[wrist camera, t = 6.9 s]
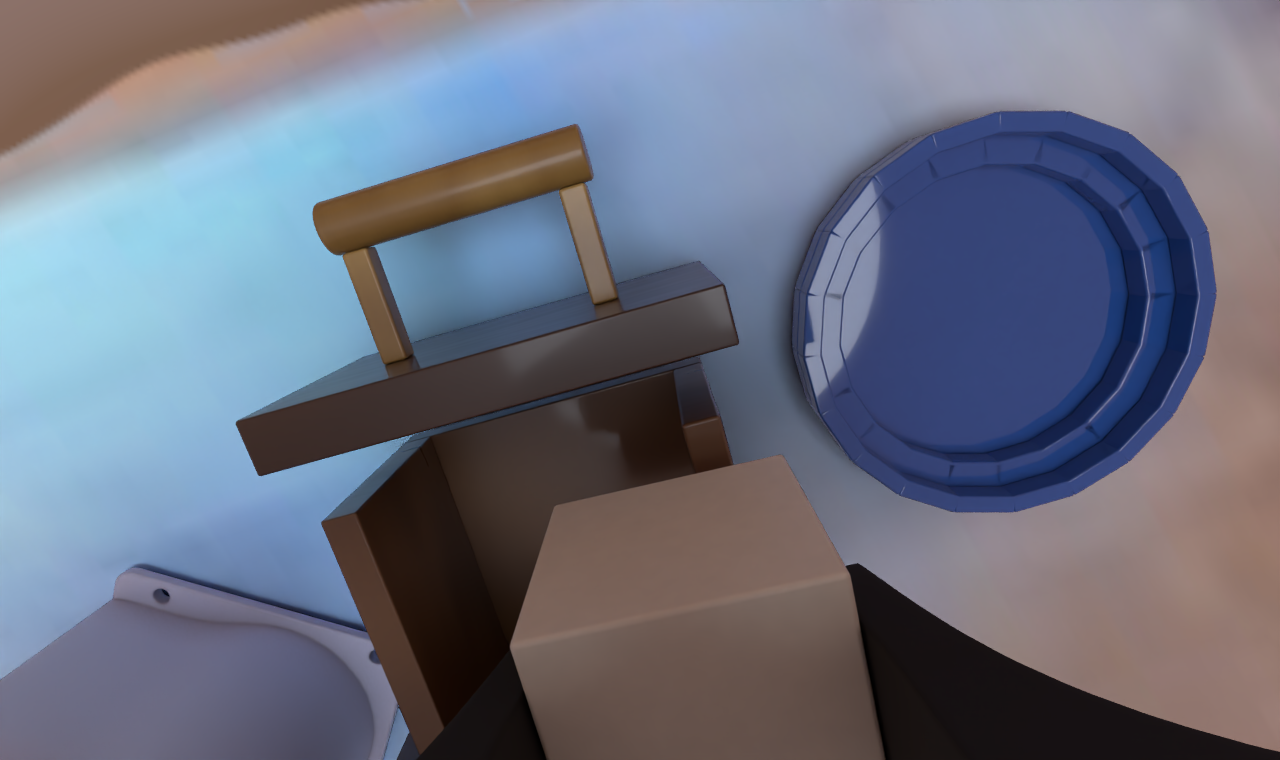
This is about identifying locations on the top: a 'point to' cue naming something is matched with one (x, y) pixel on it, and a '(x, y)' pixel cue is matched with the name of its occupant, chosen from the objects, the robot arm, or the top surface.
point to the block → (696, 626)
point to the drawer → (491, 419)
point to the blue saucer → (1004, 310)
